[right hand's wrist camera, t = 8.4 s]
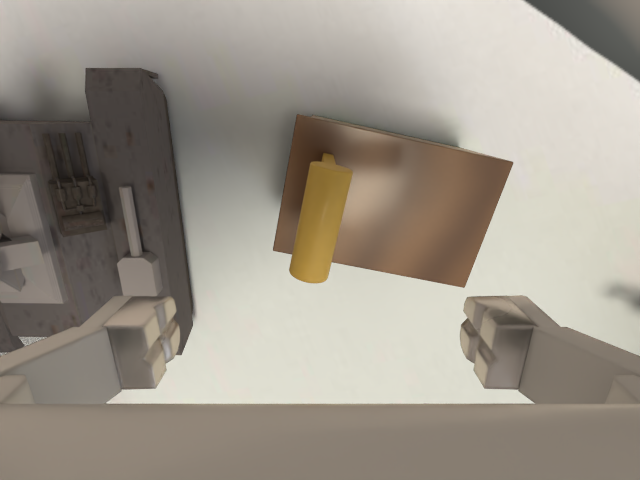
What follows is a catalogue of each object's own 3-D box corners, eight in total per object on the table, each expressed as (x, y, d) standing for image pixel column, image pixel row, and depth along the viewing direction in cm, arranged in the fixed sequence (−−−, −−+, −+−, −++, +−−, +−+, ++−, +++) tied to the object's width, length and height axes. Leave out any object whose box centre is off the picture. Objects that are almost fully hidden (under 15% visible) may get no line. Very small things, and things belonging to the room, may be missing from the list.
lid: (274, 246, 27) (254, 305, 19) (297, 113, 23) (285, 116, 15) (460, 283, 28) (517, 353, 20) (508, 160, 24) (598, 185, 16)
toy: (198, 325, 39) (130, 446, 25) (17, 323, 39) (-152, 443, 25) (167, 74, 31) (37, 43, 17) (-66, 70, 31) (-395, 37, 16)
